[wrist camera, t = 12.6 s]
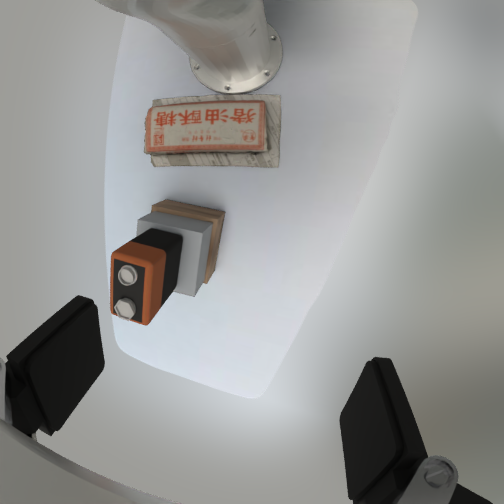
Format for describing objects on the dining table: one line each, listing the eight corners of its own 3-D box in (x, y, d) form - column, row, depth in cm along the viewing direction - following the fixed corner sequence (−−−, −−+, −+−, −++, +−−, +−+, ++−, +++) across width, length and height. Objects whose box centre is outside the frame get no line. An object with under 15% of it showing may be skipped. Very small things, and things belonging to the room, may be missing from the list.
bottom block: (165, 199, 42) (152, 205, 38) (225, 211, 42) (217, 219, 37) (159, 256, 45) (146, 268, 41) (214, 269, 45) (206, 283, 40)
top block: (154, 210, 38) (137, 219, 33) (213, 222, 37) (202, 233, 33) (150, 266, 40) (134, 281, 36) (204, 280, 40) (194, 296, 35)
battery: (144, 278, 35) (104, 319, 26) (149, 226, 33) (104, 254, 24) (177, 288, 35) (144, 333, 26) (184, 234, 33) (148, 267, 24)
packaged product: (139, 169, 37) (140, 96, 33) (154, 166, 41) (155, 101, 38) (278, 169, 35) (280, 89, 32) (279, 167, 40) (281, 96, 36)
